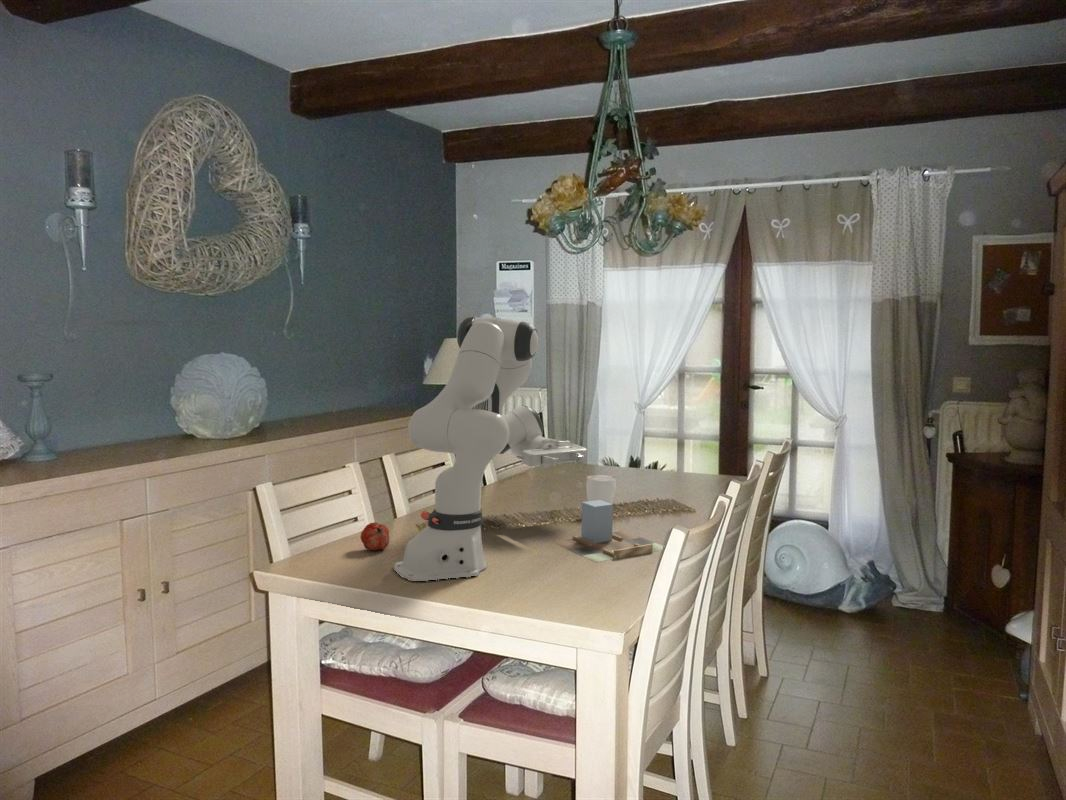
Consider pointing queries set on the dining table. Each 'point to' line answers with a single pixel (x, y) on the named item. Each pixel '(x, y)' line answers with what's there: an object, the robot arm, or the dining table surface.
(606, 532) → the block
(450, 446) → the robot arm
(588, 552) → the tray with wooden handles
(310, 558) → the dining table surface
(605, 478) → the cup
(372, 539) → the pomegranate
